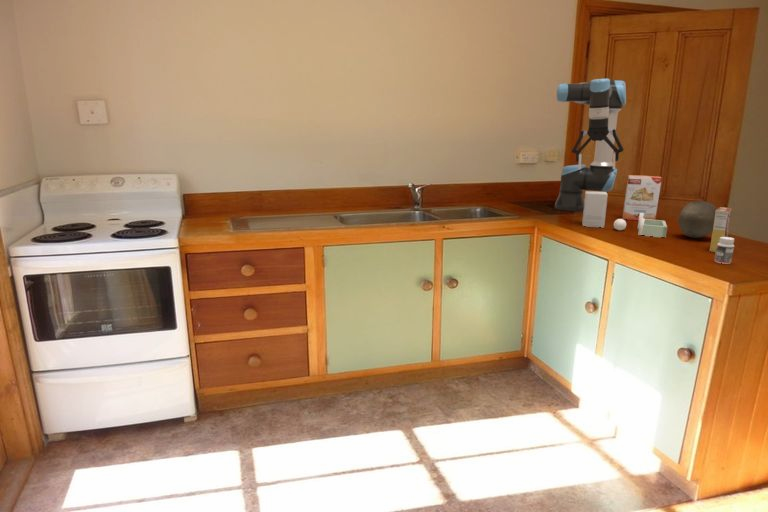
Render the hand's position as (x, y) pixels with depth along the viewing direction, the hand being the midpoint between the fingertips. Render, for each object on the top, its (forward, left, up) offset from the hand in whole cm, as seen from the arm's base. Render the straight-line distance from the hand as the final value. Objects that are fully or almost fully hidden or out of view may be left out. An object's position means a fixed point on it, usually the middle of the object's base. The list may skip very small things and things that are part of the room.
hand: (596, 168), depth 218 cm
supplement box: (-4, +1, -26) cm, 26 cm away
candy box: (+24, +45, -26) cm, 57 cm away
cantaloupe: (+5, +40, -26) cm, 48 cm away
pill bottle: (+43, +44, -26) cm, 66 cm away
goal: (+2, +24, -26) cm, 35 cm away
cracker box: (-29, +20, -26) cm, 44 cm away
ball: (+2, +12, -23) cm, 26 cm away
